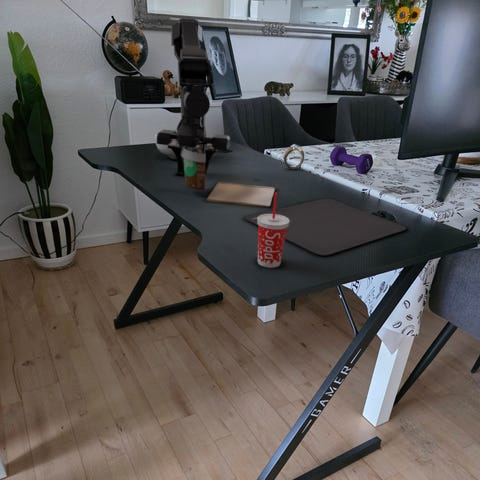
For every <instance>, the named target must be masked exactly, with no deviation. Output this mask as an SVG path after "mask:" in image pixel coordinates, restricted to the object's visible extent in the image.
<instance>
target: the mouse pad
mask: <svg viewBox="0 0 480 480" xmlns="http://www.w3.org/2000/svg"><path fill="white" fill-rule="evenodd" d="M264 214H273V209H271V210H266V211H263V212H258V213H253V214H249V215H246V216H245V217H244V219H245V220H246V221H247V222H249V223H251V224H253V225H255V226H256V227H257V226H258V223H257V221H258V220H257V218H258V216H260V215H264ZM275 214H277V215H282V216H285V217H287V218H288V219H289V220H290V221H289V226H288V227H287V231H286V236H285V241H288V242H290V243H292V244H295V245H296V246H298V247H300V248H302V249H305V250H306V251H308V252H310V253H312V254H315V255H317V256H321V257H327V256H331V255H334V254H337V253H340V252H343V251H346V250H350V249H353V248H355V247H358V246H361V245H362V246H363V245H365V244H368V243H372V242H374V241H377V240H380V239H383V238H386V237H388V236H393V235H395V234H398V233H401V232H405V231H406V230H407V227H406V226H404V225H402V224H400V223H397V222H394V221H391V220H389V219H386V218H384V217H381V216H378V215H375V214H373V213H370V212H368V211H365V210H362V209H359V208H357V207H355V206H351V205H349V204H346V203H343V202H341V201H338V200H336V199H332V198H321V199H316V200H312V201H307V202H303V203H298V204H293V205H289V206H285V207H279V208H276V212H275Z"/></svg>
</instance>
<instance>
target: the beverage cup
mask: <svg viewBox="0 0 480 480" xmlns="http://www.w3.org/2000/svg"><path fill="white" fill-rule="evenodd" d="M277 201H278V192H274V195H273V208H272V210H273V214H264V215H260V216H258V218H257V220H258V221H257V223H258V227H257V230H258V231H257V263H258V265H260V266H261V267H264V268H269V269H270V268H271V269H272V268H277V267H279V266H281V263H282V257H283V253H284V246H285V241H286V239H285V236H286V231H287V227H288V226H289V221H290V220H289V219H288V218H287V217H285V216H282V215H277V214H275V212H276V209H277V203H278V202H277Z"/></svg>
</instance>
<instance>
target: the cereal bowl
mask: <svg viewBox="0 0 480 480" xmlns="http://www.w3.org/2000/svg"><path fill="white" fill-rule="evenodd" d="M175 131H176V133H177V130H175ZM157 134H158V133H156V134H155V136H154V140H155V145H156V148H157V150H158V151H159V152H160V153H162V154H163V155H165V156H167V157H168V158H170V159H173V160H177V158H176V155H175V153H174V152H173V151H172V149H170V148H168V147H167V146H168V145H162V144H157Z"/></svg>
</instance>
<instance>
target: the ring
mask: <svg viewBox="0 0 480 480" xmlns="http://www.w3.org/2000/svg"><path fill="white" fill-rule="evenodd" d="M294 151H298V152H299V154H300V156H301V157H300V161H299V163H298V164H297V165H289V164H288V161H287V160H288V156H289V155H290V154H291V153H293V152H294ZM304 161H305V152H304V149H303V148H301V147H300V145H298V144H296V143H294V144H292V145H289V147H288V148H287V149H286V150H285V153H284V155H283V162H284V165H285V166H286V167H287V168H288V169H291V170H296V169H298V168H300V167H301V166H302V165H303V163H304Z"/></svg>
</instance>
